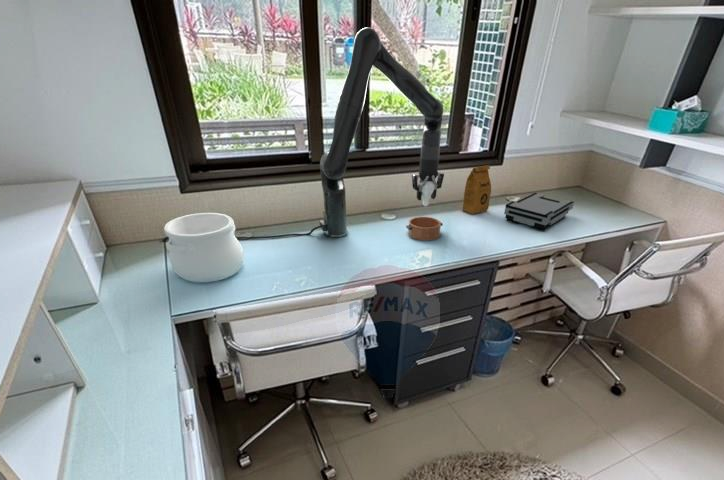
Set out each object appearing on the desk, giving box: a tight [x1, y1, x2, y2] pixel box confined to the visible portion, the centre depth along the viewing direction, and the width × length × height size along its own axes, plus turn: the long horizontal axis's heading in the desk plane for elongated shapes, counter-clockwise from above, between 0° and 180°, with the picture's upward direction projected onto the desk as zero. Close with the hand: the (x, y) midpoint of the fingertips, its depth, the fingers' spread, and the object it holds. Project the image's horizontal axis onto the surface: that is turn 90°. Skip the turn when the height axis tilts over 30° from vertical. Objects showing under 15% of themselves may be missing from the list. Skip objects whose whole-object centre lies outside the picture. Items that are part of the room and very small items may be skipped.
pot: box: [163, 212, 245, 283], centre depth 143 cm, size 26×24×18 cm
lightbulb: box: [421, 181, 435, 208], centre depth 169 cm, size 6×6×11 cm
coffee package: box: [461, 164, 492, 215], centre depth 200 cm, size 10×12×22 cm
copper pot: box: [405, 216, 444, 241], centre depth 179 cm, size 16×14×6 cm
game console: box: [503, 192, 575, 232], centre depth 197 cm, size 21×32×8 cm, turn 138°
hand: (426, 199), depth 171 cm, fingers closed on lightbulb, 5 cm apart
